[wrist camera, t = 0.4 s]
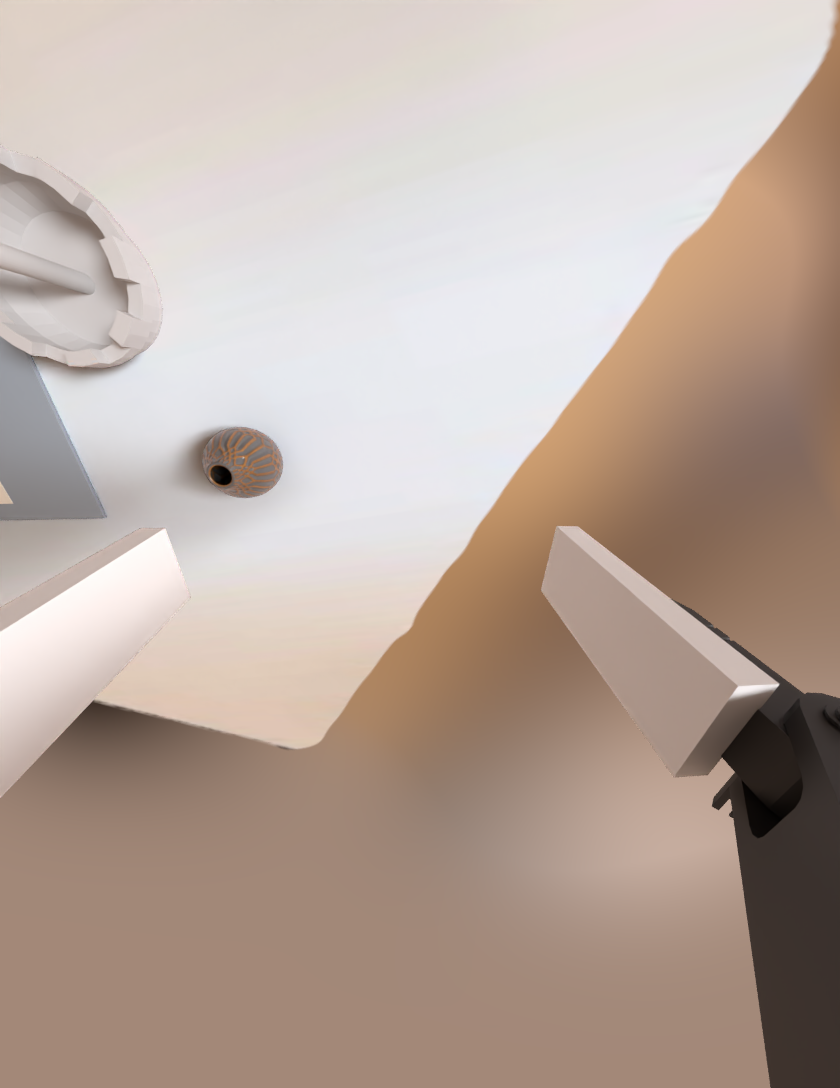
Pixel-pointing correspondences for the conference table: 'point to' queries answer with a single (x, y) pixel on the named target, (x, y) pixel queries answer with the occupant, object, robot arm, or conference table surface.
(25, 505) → the board
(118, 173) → the conference table surface
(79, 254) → the flag stand
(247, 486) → the vase
